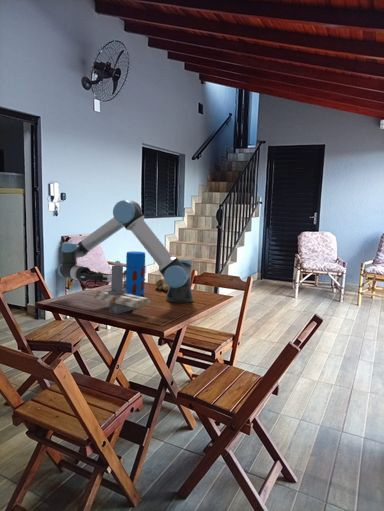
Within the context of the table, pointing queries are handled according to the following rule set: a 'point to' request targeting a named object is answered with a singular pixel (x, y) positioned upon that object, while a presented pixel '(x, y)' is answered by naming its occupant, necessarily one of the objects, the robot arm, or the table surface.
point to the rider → (117, 279)
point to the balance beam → (122, 301)
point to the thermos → (135, 273)
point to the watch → (124, 277)
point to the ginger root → (162, 284)
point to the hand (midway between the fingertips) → (113, 279)
